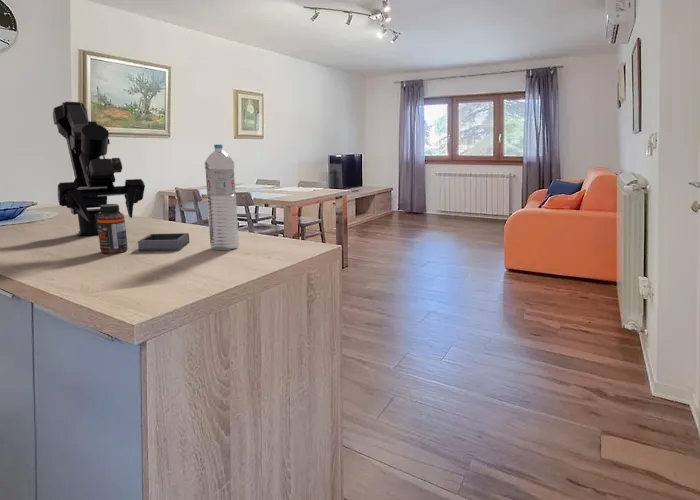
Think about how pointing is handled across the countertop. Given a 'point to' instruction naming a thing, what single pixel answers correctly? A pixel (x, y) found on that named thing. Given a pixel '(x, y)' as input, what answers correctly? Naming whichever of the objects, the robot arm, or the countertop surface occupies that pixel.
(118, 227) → the supplement bottle
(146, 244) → the tray
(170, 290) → the countertop surface
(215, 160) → the water bottle
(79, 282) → the countertop surface
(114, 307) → the countertop surface
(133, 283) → the countertop surface
